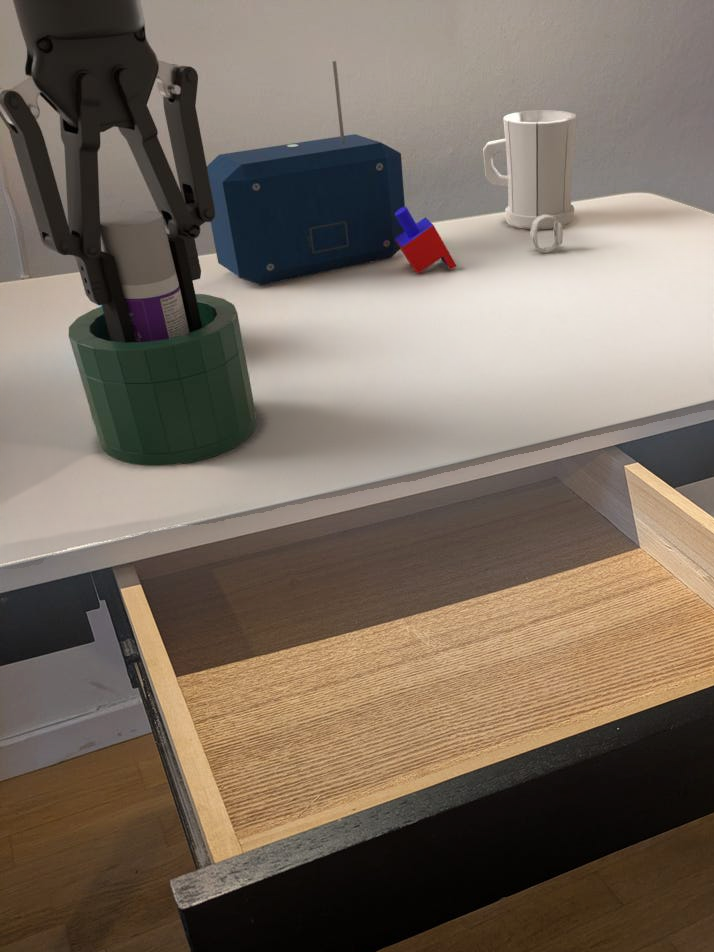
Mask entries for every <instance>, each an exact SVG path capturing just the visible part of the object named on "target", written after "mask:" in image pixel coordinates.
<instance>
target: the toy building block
mask: <svg viewBox="0 0 714 952" xmlns="http://www.w3.org/2000/svg"><path fill="white" fill-rule="evenodd" d="M395 216H396V218H397V219H398V221H399V223H400V224H401V226H402V228H403V230H404V231H405V232H404V233H402V234H401V235H399V236H398V237H397V238H395V240H396V242H397V244H398V245H399V247H400V251H401V252H402V254H403V255H404V257H405V258H406V261H407V262H408V263H409V265H410V267H411V268H412V269H413V270H414V271H415V273H416V274H417V275H419V274H421V273H422V272H423V271H424V270H426V269H428V268H429V267H430V266H432V265H433V264H435V263H436V262H437V261H439V260H441V262H442V263H443V264H444V265H445V266H446V267H447V268H448V269H449V270H450V271H451V270H453V269H455V268H456V267H457V264H456V261H455V260H454V258H453V257H452V255H451V253H450V251H449V250H448V247H447V246H446V244H445V242H444V241H443V239H442V237H441V235H440V234H439V233H438V230H437V229H436V227H435V225H434V224H433V222H431V221H430V220H429V218H427V216H425V217H423V218H422V219H420V220H419V221H418V222H416V220H415V219H414V217H413V215H412V214H411V212H410V210H409V208H408V207H407V206H405V207H402V208H400V209H399V210H397V211H396V213H395Z"/></svg>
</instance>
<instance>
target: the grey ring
mask: <svg viewBox="0 0 714 952" xmlns="http://www.w3.org/2000/svg"><path fill="white" fill-rule="evenodd" d="M549 218H550V219H553V220H555V222H554V228H553V243H552V244H551V245H550V246H547V247H544V248H542V247H540V246H539V244H538V242H539V241H538V226H539V224H541V223H542V222H543V221H545V220H548V219H549ZM532 224H533V225H532V227H531V229H530V232H529V237H530V241H531V243H532V246H533V247H534V248H535V249H536V250H537V251H539V252H541V253H545V254H548V253H552V252H554V251H555V250H557V248H559V246H561V245H562V244H563V237H564V236H563V234H564V233H563V232H564V231H563V229H564V226H563V225H562V224H561V223H560V222H559V221H558V220H557V219H556V218H554V217H553V216H551V215H541V216H539V217H537V218H536V219H535V220H534V221H533V223H532Z"/></svg>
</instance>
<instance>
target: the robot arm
mask: <svg viewBox="0 0 714 952" xmlns="http://www.w3.org/2000/svg"><path fill="white" fill-rule="evenodd" d="M12 2H13V3H12V4H13V6H14V10H15V14H16V17H17V20H18V21H17V22H18V24H19V28H20V32H21V34H22V38H23V41H24V43H25V47H26V59H25V63H24V74H25V75H24V76H22V77H20V78H19V79H17V80H16V81H14V82H13V83H11V84H9V85H7V86H6V87H5V88H4V87H0V119H1V120H2V122H3V123H4V125H5V126H6V127H7V129H8V132H9V136H10V138H11V142H12V145H13V148H14V152H15V155H16V158H17V162H18V165H19V168H20V169H19V170H20V173H21V176H22V179H23V183H24V185H25V190H26V192H27V193H26V194H27V196H28V199H29V203H30V206H31V209H32V213H33V216H34V219H35V223H36V226H37V230H38V234H39V237H40V240H41V243H42V245H43V246H44V247H46V248H47V249H49V250H52V251H53V252H56V253H58V254H61V255H62V256H73V257H74V258H75V261H76V265H77V268H78V271H79V274H80V278H81V279H80V280H81V281H82V286H83V289H84V293H85V295H86V297H87V298H88V300H89V301H90V302H91V303H93V304H95V305H97V306H99V305H102V308H103V312H104V316H105V320H106V323H107V327H108V331H109V335H110V338H111V341H114V342H125V343H130V342H135V338H134V334H133V330H132V326H131V322H130V318H129V314H128V310H127V306H126V302H125V298H124V294H123V290H122V286H121V282H120V278H119V274H118V270H117V266H116V262H115V258H114V256H112V255H110V254H108V253H105V252H104V250H102V240H101V232H100V218H101V209H100V207H101V206H100V182H99V181H100V180H99V178H100V177H99V159H98V158H99V155H98V153H99V150H100V148H101V133H104V132H106V131H108V130H110V129H112V128H115V127H116V128H118V131H119V133H120V134H121V135H122V136H123V138H124V139H125V140H126V142H127V144H128V147H129V149H130V151H131V153H132V155H133V157H134V160H135V162H136V164H137V166H138V169H139V171H140V173H141V175H142V177H143V180H144V182H145V184H146V187H147V189H148V191H149V193H150V196H151V197H152V200H153V202H154V205H155V206H156V209H157V212H159V213H161V214H162V216H163V220H164V225H165V229H167V231H168V233H167V232H166V233H167V237H168V241H169V245H170V249H171V253H172V257H173V262H174V266H175V270H176V274H177V278H178V282H179V286H180V291H181V295H182V300H183V305H184V309H185V314H186V319H187V323H188V328H189V329H191V330H193V331H196V330H199V329H201V328H202V323H201V318H200V314H199V309H198V304H197V299H196V295H195V294H196V290H195V285H194V281H196V280H200V279H201V276H202V269H201V263H200V258H199V254H198V248H197V244H196V239H197V238H198V237H199V236H200V235H201V226H202V225H203V224H205V223H211V221H212V220H213V219H214V217H215V208H214V203H213V198H212V192H211V187H210V181H209V176H208V171H207V165H208V164H207V161H206V155H205V150H204V145H203V144H204V143H203V139H202V134H201V128H200V123H199V118H198V117H199V116H198V112H197V107H196V105H197V94H198V86H199V85H198V83H199V74H198V72H197V70H196V69H195V68H194V67H192V66H187V65H182V64H175V63H169V62H165V61H163V60H162V61H161V60H159V58H158V56H157V54H156V52H155V51H154V49H153V47H152V46H151V44H150V43H149V41H148V38H147V35H146V21H145V16H144V15H145V14H144V11H143V7H142V2H141V0H12ZM155 82H156V87H157V90H158V92H159V95H161V96H162V100H163V102H162V103H163V111H164V116H165V121H166V122H165V123H166V125H167V131H168V136H169V141H170V146H171V150H172V151H171V152H172V156H173V160H174V165H175V166H174V167H175V169H176V174H177V175H176V176H177V179H178V182H177V179H176V178H175V175H174V173H173V170H172V167H171V166H170V163H169V161H168V159H167V156H166V154H165V151H164V149H163V147H162V144H161V142H160V140H159V137H158V134H159V131H158V127H157V126H156V123H155V120H154V119H153V117H152V114H151V111H150V109H149V107H148V102H149V100H150V97H151V94H152V91H153V88H154V85H155ZM39 96H40V97H41V98H42V99H43V100H44V101H45V102H46V103H47V104H48V106H50V107H51V108H52V109H53V110H54V111H55V112H56V113H57V114H58V115H59V129H60V130H59V131H60V138H61V142H62V144H63V147H64V166H65V168H64V169H65V186H66V204H67V205H66V207H67V216H66V213H65V209H64V206H63V205H64V204H63V201H62V198H61V194H60V191H59V188H58V183H57V180H56V176H55V173H54V169H53V165H52V163H51V159H50V155H49V151H48V147H47V144H46V141H45V137H44V134H43V131H42V129H41V126H40V124H39V122H38V119H39V117H40V114H41V110H40V109H41V108H40V106H39V104H38V97H39ZM178 184H179V185H178Z"/></svg>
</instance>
